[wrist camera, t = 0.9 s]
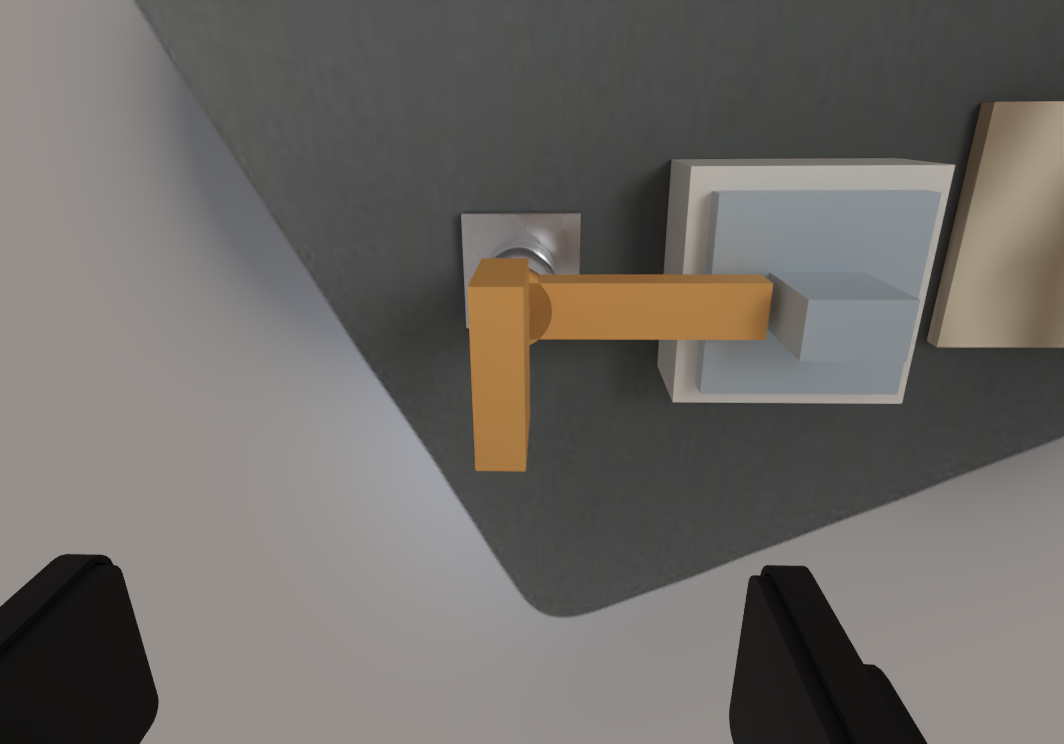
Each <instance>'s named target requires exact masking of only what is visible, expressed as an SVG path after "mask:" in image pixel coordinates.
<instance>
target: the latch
mask: <svg viewBox="0 0 1064 744" xmlns="http://www.w3.org/2000/svg"><path fill="white" fill-rule="evenodd" d="M772 290H773V283H772V282H771V281H769V280H768V279H767V278H765V277H764V276H763V275H761V274H538V273H537V272H536V271H534V270H532V269H530V268H529V258H482V259H481V261H480V263H479V265H478V267H477V269H476V271H475V273H474V275H473V277H472V279H471V281H470V282H469V284H468V286H467V292H468V314H469V336H470V358H471V380H472V402H473V424H474V446H475V469H476V471H526V461H527V449H528V436H529V424H530V359H529V345H531V344H533V343H534V342H536V341H537V340H539V339H607V340H766V335H767V327H768V320H769V312H770V305H771V297H772Z"/></svg>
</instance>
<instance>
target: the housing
mask: <svg viewBox="0 0 1064 744" xmlns="http://www.w3.org/2000/svg"><path fill="white" fill-rule="evenodd" d="M954 168H955V165H952V164H943V163H934V162H926V161H917V160H909V159H900V158H815V159H671V173H670V187H669V202H668V216H667V231H666V245H665V260H664V274H705V269H706V259H707V248H708V237H709V226H710V216H711V205H712V194H713V191H720V190H930V191H935V192H941V197H940V202H939V207H938V211H937V216H936V220H935V225H934V229H933V234H932V238H931V243H930V248H929V252H928V257H927V261H926V266H925V270H924V275H923V279H922V284H921V289H920V293H919V298H918V299H919V300H920V303H919V308H918V312H917V317H916V321H915V326H914V330H913V335H912V339H911V344H910V349H909V353H908V358H907V362H904V366H903V370H902V375H901V380H900V384H899V389H898V393H897V395H888V394H720V393H700V392H699V390H698V388H697V386H696V385H695V377H696V366H697V356H698V345H699V340H659V347H658V362H657V366H658V369H659V371H660V373H661V376H662V378H663V381H664V383H665V385H666V388H667V390H668V393H669V395H670V397H671V400H672V402H709V403H865V404H902V401H903V396H904V392H905V387H906V383H907V378H908V374H909V369H910V365H911V360H912V356H913V351H914V347H915V342H916V338H917V333H918V329H919V325H920V320H921V316H922V311H923V307H924V302H925V298H926V293H927V289H928V284H929V280H930V275H931V271H932V266H933V262H934V258H935V253H936V249H937V244H938V240H939V235H940V231H941V226H942V222H943V217H944V213H945V208H946V204H947V199H948V195H949V191H950V186H951V182H952V177H953V173H954Z"/></svg>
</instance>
